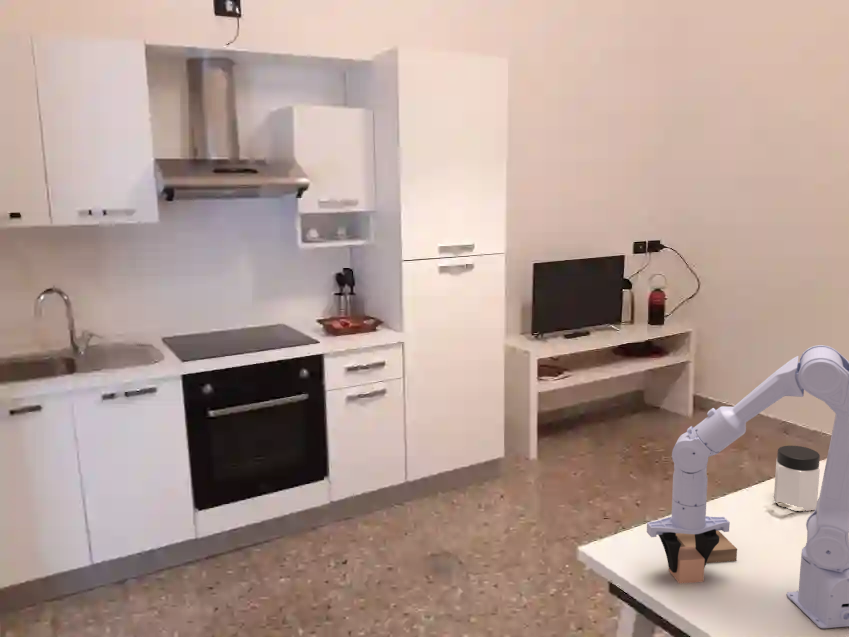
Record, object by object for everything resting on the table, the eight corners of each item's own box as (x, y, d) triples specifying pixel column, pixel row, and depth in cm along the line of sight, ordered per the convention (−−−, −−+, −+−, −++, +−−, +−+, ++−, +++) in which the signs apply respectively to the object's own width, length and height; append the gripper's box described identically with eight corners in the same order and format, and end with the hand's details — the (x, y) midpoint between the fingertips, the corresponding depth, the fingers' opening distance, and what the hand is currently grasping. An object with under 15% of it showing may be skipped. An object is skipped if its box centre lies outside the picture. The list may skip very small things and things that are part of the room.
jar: (824, 504, 152) (828, 452, 149) (808, 516, 146) (812, 463, 144) (782, 491, 158) (785, 441, 156) (765, 502, 153) (769, 451, 151)
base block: (736, 560, 131) (737, 548, 130) (690, 564, 130) (690, 552, 129) (713, 537, 139) (713, 525, 139) (669, 540, 139) (670, 528, 138)
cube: (703, 581, 124) (704, 558, 123) (679, 583, 124) (680, 560, 123) (692, 568, 129) (693, 546, 128) (668, 569, 128) (669, 547, 127)
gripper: (717, 487, 128) (713, 554, 130) (641, 492, 127) (639, 559, 129) (737, 504, 121) (733, 574, 124) (656, 509, 120) (654, 580, 122)
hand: (686, 568), depth 126 cm, fingers closed on cube, 4 cm apart
